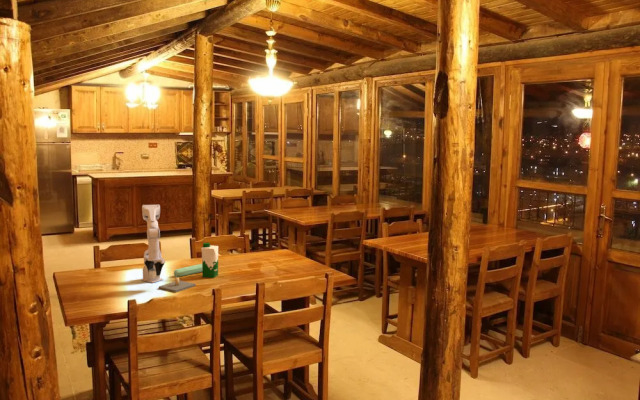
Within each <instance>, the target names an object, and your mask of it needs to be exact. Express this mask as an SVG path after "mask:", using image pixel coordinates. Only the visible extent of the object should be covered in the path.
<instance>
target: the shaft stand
mask: <svg viewBox="0 0 640 400" xmlns="http://www.w3.org/2000/svg"><path fill="white" fill-rule="evenodd" d="M193 287H196V283H194V282H189V281H185V280H181V279H180V277H174V281H171V282H169V283H165V284H163V285H158V290H162V291H163V290H164V291H166V292H167V291H168V292H171V293H178V292H181V291H185V290H187V289H190V288H193Z"/></svg>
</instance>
